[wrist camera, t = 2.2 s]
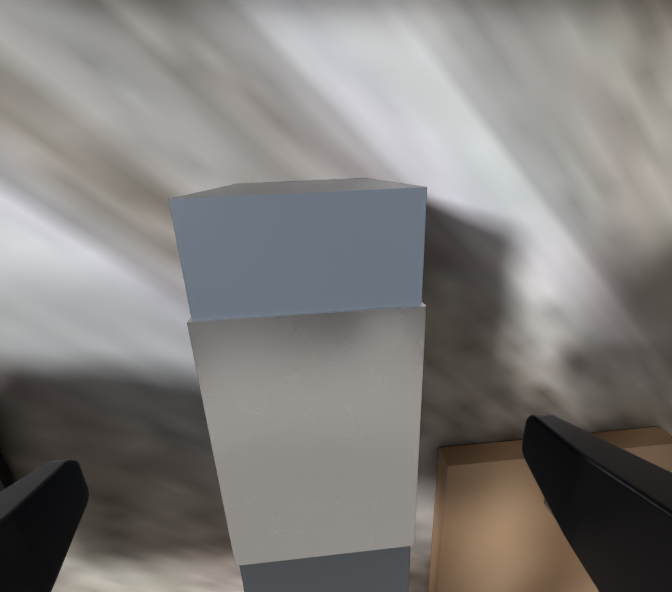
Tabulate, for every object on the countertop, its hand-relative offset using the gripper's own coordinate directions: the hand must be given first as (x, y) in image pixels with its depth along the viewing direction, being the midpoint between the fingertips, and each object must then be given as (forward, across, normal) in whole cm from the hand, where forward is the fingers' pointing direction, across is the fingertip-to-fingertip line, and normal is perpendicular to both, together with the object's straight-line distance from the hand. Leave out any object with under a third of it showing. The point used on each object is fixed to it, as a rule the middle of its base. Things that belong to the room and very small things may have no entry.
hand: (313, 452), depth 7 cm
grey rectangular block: (+6, 0, 0) cm, 6 cm away
